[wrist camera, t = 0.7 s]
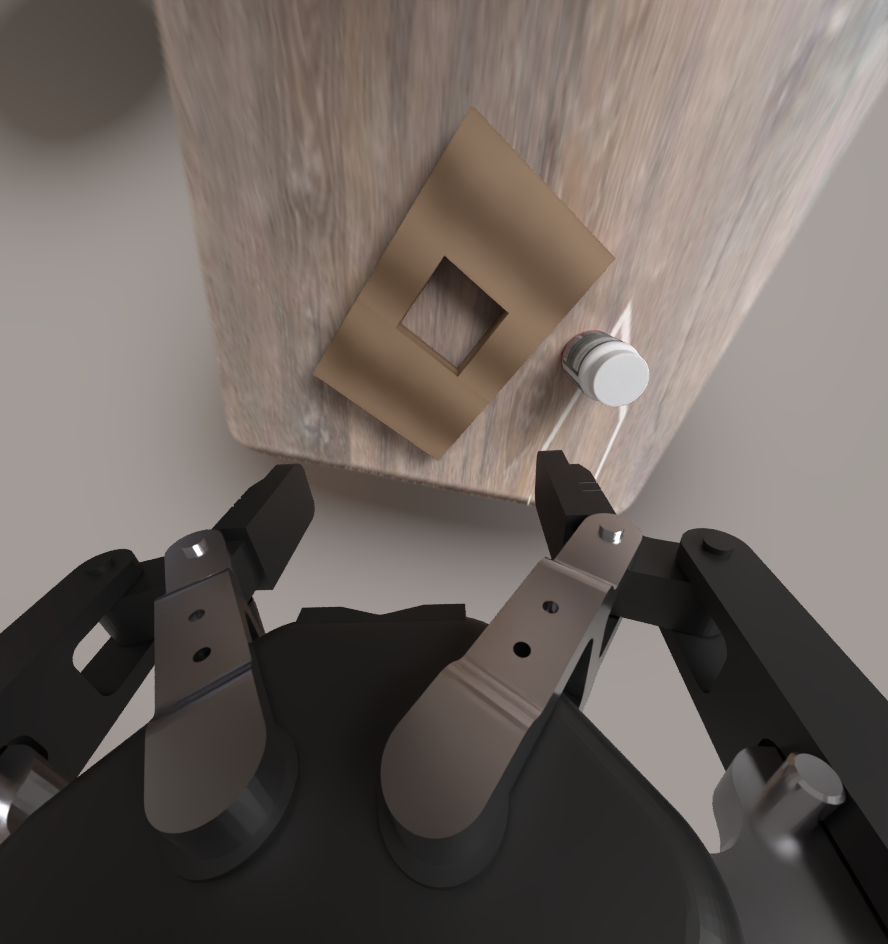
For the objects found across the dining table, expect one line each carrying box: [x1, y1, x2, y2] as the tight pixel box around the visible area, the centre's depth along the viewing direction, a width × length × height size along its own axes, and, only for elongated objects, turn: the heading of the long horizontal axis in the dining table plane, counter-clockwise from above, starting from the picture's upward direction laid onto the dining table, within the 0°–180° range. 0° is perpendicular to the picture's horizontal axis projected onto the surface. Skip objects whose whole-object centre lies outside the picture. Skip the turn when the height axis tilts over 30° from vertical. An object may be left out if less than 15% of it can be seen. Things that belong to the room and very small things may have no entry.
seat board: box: [313, 105, 616, 460], centre depth 32 cm, size 22×14×3 cm, turn 142°
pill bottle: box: [562, 330, 649, 407], centre depth 31 cm, size 5×5×8 cm
